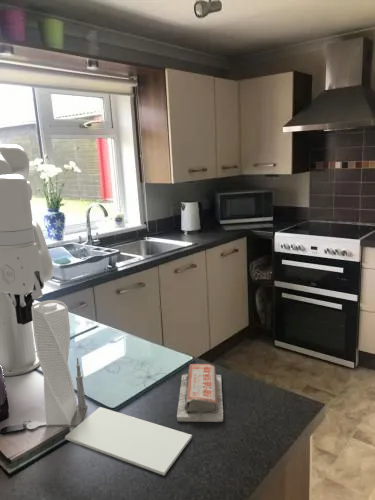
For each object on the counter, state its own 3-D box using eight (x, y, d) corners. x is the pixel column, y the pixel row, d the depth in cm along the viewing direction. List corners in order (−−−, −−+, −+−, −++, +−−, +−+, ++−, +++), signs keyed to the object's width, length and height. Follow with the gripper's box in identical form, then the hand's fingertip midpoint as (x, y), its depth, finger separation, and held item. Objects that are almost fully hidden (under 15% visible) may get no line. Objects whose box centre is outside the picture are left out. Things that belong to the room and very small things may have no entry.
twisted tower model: (77, 430, 85) (64, 303, 79) (38, 431, 86) (22, 304, 79) (87, 406, 94) (75, 289, 87) (51, 407, 94) (37, 290, 87)
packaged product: (181, 361, 104) (221, 361, 103) (181, 378, 105) (221, 378, 104) (175, 403, 86) (223, 403, 86) (176, 423, 87) (223, 424, 87)
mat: (65, 439, 83) (64, 436, 83) (100, 409, 93) (99, 406, 92) (164, 475, 73) (164, 472, 73) (191, 437, 82) (191, 435, 82)
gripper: (-26, 239, 85) (-13, 323, 88) (26, 243, 78) (37, 334, 82) (5, 232, 91) (16, 311, 95) (55, 236, 84) (64, 320, 88)
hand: (26, 321), depth 88 cm, fingers closed
